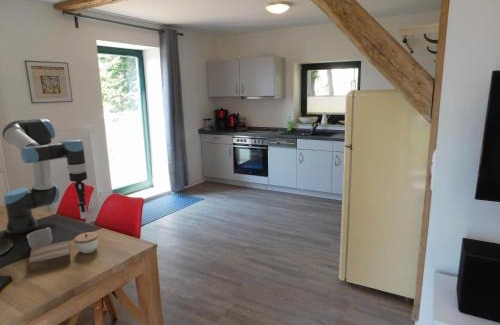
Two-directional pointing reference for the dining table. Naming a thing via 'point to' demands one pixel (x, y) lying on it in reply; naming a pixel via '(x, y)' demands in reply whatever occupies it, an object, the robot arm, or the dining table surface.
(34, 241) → the teacup
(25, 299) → the dining table surface
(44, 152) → the robot arm
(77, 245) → the lidded jar
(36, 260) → the walnut block
